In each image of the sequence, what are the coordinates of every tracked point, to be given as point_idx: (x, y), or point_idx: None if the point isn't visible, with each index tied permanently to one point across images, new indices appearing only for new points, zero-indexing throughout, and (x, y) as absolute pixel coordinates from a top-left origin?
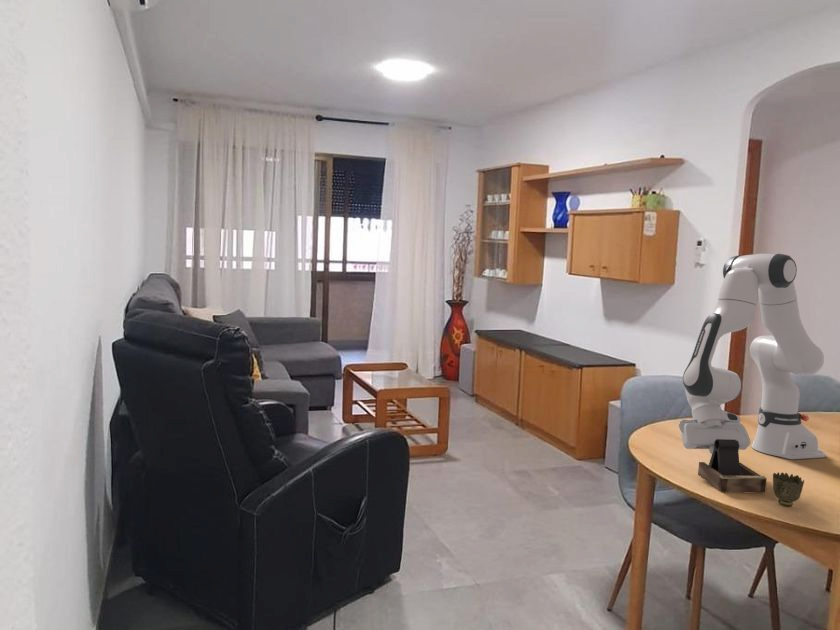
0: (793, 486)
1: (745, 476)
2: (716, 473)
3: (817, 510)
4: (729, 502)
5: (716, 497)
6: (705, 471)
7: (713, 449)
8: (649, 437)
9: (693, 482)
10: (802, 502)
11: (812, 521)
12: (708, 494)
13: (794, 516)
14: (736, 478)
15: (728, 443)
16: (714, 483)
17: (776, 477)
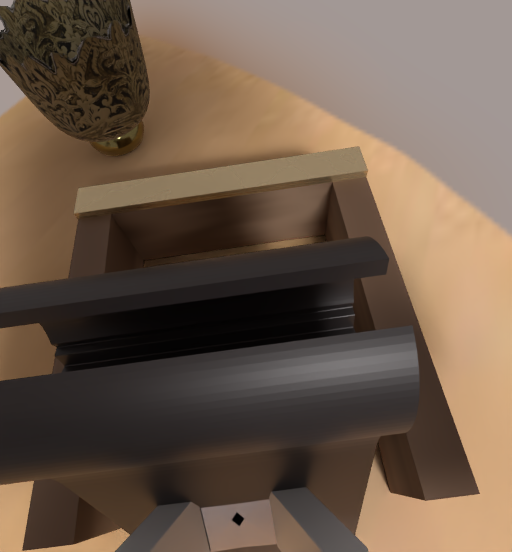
0: (90, 2)
1: (202, 183)
2: (373, 222)
3: (32, 126)
4: (343, 124)
5: (386, 155)
6: None
7: (351, 541)
8: None
9: (480, 317)
10: (27, 176)
11: None
12: (417, 177)
13: (154, 76)
14: (270, 163)
15: (191, 261)
16: None
17: (84, 72)
